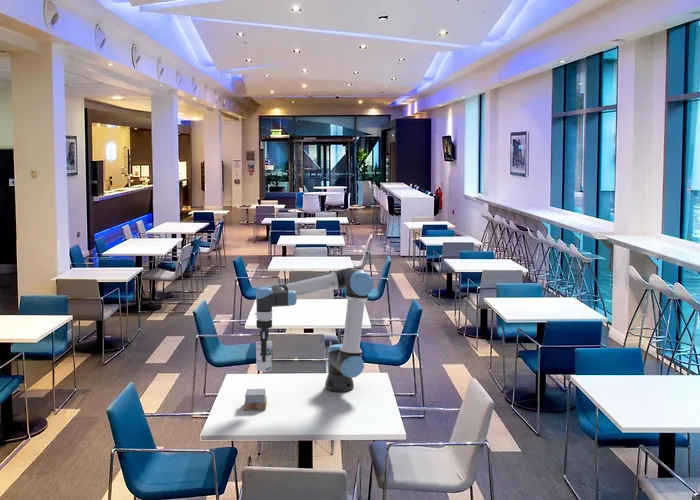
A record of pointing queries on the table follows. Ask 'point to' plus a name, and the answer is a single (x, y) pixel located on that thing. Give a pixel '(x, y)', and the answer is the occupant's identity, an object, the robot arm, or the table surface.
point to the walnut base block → (255, 406)
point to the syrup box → (269, 356)
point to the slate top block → (255, 396)
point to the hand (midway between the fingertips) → (264, 365)
